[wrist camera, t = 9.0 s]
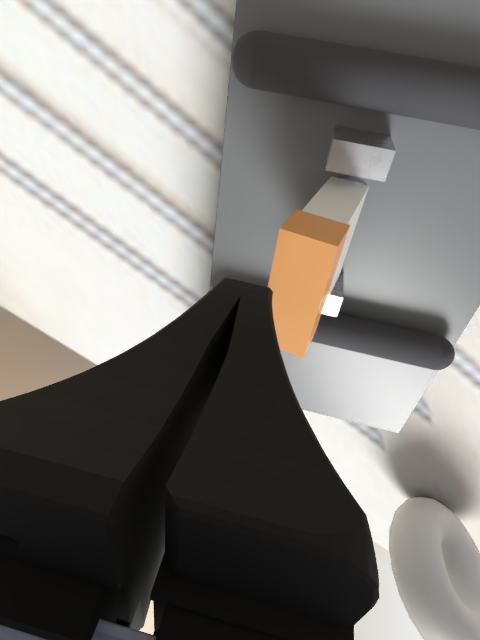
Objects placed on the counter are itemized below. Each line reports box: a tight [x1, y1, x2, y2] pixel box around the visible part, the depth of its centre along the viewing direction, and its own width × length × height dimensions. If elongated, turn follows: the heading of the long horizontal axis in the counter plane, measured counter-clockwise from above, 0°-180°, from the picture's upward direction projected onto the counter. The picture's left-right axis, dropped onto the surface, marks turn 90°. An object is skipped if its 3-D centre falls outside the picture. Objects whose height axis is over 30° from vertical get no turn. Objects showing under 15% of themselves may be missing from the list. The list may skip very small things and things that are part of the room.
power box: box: [210, 0, 480, 433], centre depth 18 cm, size 12×20×5 cm, turn 173°
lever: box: [268, 175, 369, 358], centre depth 14 cm, size 2×4×6 cm, turn 172°
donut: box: [389, 497, 480, 640], centre depth 28 cm, size 10×4×10 cm, turn 47°
